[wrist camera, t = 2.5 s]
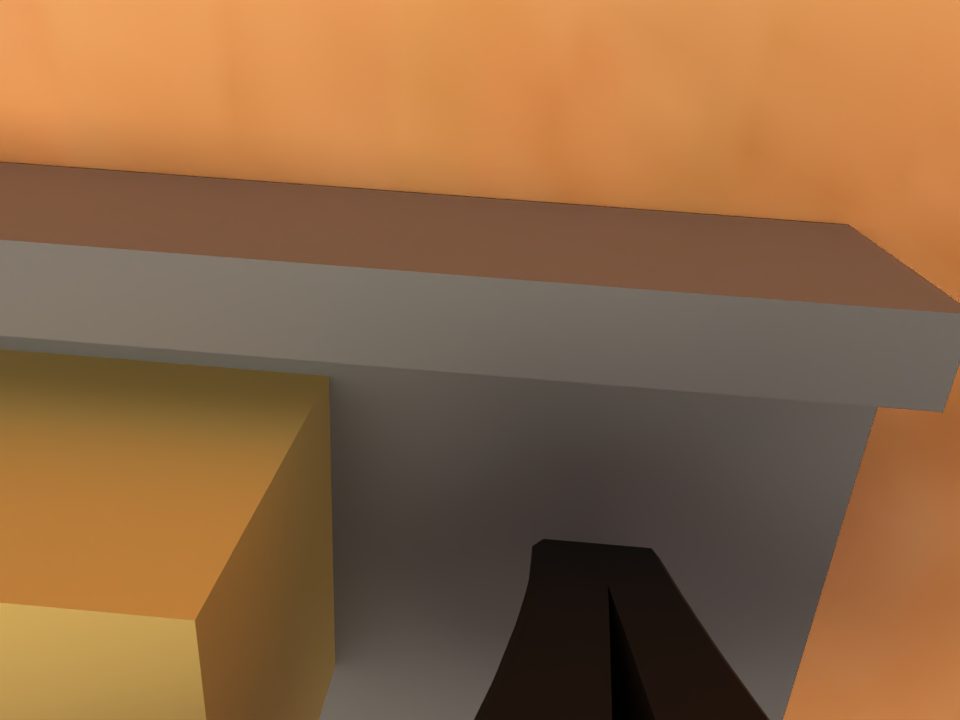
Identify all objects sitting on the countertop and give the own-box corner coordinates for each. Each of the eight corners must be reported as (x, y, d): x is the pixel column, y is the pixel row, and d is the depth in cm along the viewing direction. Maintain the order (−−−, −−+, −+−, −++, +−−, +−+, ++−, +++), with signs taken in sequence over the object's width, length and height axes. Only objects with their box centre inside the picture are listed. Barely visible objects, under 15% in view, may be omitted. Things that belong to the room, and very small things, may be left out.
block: (328, 376, 9) (194, 620, 6) (335, 665, 11) (237, 991, 7) (-49, 344, 9) (-419, 563, 6) (20, 636, 11) (-228, 941, 8)
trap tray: (848, 225, 10) (975, 314, 7) (672, 907, 16) (703, 1110, 13) (-644, 114, 11) (-1083, 156, 8) (-290, 809, 17) (-466, 982, 14)
